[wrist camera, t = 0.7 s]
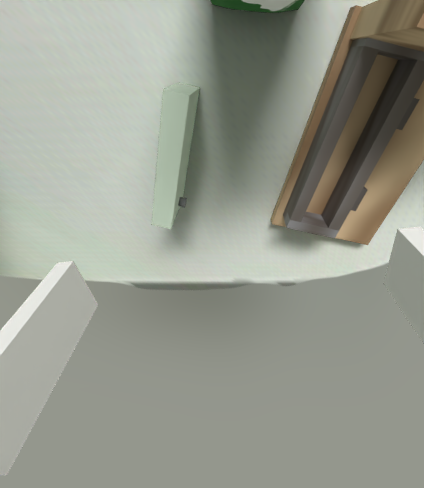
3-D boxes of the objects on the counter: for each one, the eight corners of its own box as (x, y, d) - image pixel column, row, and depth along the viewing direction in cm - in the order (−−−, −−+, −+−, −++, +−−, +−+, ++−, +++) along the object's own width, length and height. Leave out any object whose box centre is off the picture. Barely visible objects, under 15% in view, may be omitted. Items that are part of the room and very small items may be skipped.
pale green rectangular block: (166, 195, 33) (151, 224, 27) (179, 82, 26) (163, 89, 20) (188, 200, 33) (178, 230, 27) (207, 89, 26) (198, 97, 20)
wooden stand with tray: (270, 219, 33) (283, 280, 24) (350, 7, 22) (433, -30, 13) (363, 239, 34) (411, 307, 24) (488, 44, 22) (664, 33, 13)
